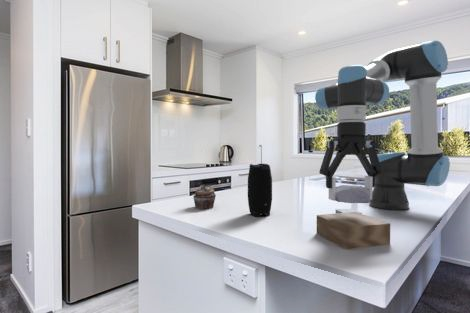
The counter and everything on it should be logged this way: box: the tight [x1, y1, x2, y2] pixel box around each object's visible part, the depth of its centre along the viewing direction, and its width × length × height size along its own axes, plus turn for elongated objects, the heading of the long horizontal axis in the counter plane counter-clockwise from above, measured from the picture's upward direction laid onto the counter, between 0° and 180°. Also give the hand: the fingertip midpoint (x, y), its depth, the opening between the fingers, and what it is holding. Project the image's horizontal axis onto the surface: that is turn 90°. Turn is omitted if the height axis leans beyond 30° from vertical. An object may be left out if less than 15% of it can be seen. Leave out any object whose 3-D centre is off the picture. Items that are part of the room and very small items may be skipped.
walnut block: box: [316, 212, 391, 250], centre depth 84 cm, size 14×14×6 cm
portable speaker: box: [247, 163, 273, 218], centre depth 112 cm, size 9×9×20 cm
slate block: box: [335, 208, 363, 214], centre depth 97 cm, size 6×6×5 cm
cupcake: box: [192, 184, 217, 211], centre depth 125 cm, size 10×10×10 cm
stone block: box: [334, 184, 370, 204], centre depth 85 cm, size 12×5×10 cm
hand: (350, 199), depth 84 cm, fingers closed on stone block, 10 cm apart
